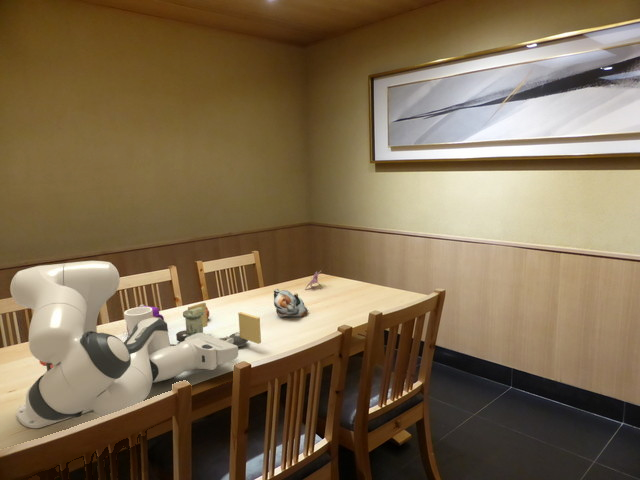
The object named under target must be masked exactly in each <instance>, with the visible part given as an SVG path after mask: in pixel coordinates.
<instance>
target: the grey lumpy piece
mask: <svg viewBox="0 0 640 480" xmlns="http://www.w3.org/2000/svg"><path fill="white" fill-rule="evenodd" d="M273 305H274V308H275V312H276V314H277V316H278V317H280V318H283V317H302V318H304V317H305V316H306V314H307V313H309V310H308V307H306V306H305V303H304V300H303V299H301V298H300V297H299V294H298V293H294V294H293V293H292V292H290V291H289V290H286V289H281V290H279V289H278V288H275V289H274V290H273Z"/></svg>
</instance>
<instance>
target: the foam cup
mask: <svg viewBox="0 0 640 480" xmlns="http://www.w3.org/2000/svg"><path fill="white" fill-rule="evenodd" d="M150 307H151V306H150ZM150 307H139V306H137V307H133V308H130V309H127V310H124V312H123V314H124V315H123V316H124V320H125V324H126V323H127V324H126V328H127V327H128V331H129V333H128V335H129V336H130V335H131V333H132V330H133V329H134V327H135V326H136V324H137V323H139V322H141V321H142V320H145V319H148V318H149V317H152V316H153V311H152V308H150ZM128 331H127V332H128Z"/></svg>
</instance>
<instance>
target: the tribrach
mask: <svg viewBox="0 0 640 480" xmlns="http://www.w3.org/2000/svg"><path fill="white" fill-rule="evenodd" d="M206 307H207V303H206V302H201V303H198V304H194V305H192V306H188V307H187V309H186V310H184V311H183V312H182V317H183V318H185V328H186V329H185V330H181V331H178V332H176V334H175V336H176V337H175V338H176V341H177V342H178V344H179V343H180V342H183V341H184V340H185V338H187V337H189V336H191V335H194V334H196V333H204V328H205V327H208V319H207V312H206ZM149 318H156V317H153V316H152V317H149ZM163 321H165V319H164V320H163ZM176 345H177V344H171V343H170V346H176ZM237 346H238V349H241V348H244V347H245V346H246V343H245V344H241V345H237Z"/></svg>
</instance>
